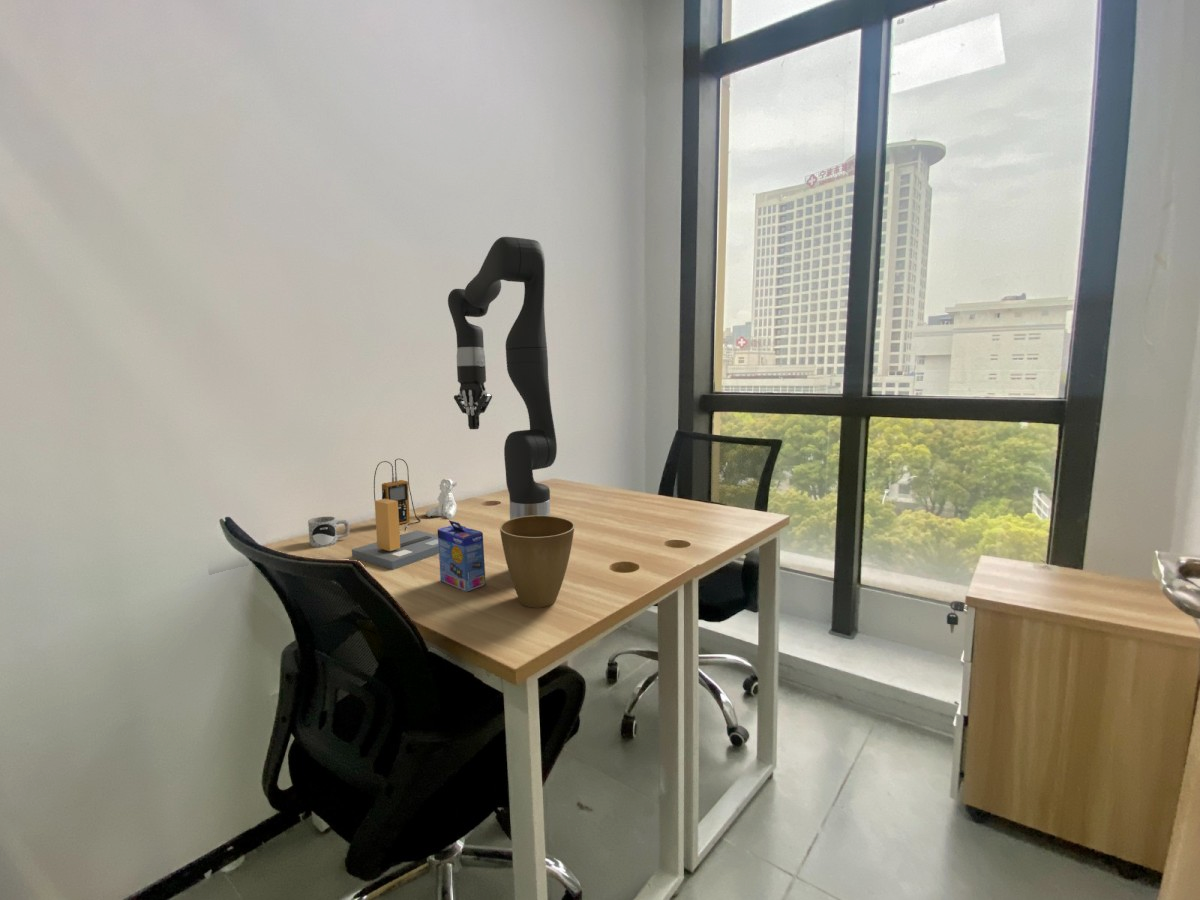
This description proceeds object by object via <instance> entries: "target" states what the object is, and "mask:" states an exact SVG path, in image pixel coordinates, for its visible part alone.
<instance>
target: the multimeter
mask: <svg viewBox="0 0 1200 900" xmlns="http://www.w3.org/2000/svg"><path fill="white" fill-rule="evenodd" d="M397 460H398V458H396V459H395V460H394V466H393V464H392V463H391V462H390V461H387V460H384V461H380V462H379V463H378V464H377V465H376V468H375V471H374V477H373V498H374V499H373V501H376V493H375V492H376V491H375V490H376V489H375V488H376V475H377V474H376V473H377V470H378V468H379V465H380V464H382V463H388V464H390V466H391V472H392V474H391V476H392V477H391V481H390V482H389V481H388V482H383V483H382V484H381V499H390V500H394V501H398V513H399V525H402V524H403V525H404V524H407V525H406V527H405V531H407V530H409V526H410V525H413V524H417V523H418V524H419V523H420V522H421V518H419V517H417V515H416V510H415V507H414V502H413V497H412V496H413V495H412V492H411V488H410V479H409V478H410V477H409V473H407V480H403V479H400V480H399V479H398V475H397V463H396V462H397ZM400 460H401V461H403V462H404V464H405V465H406V469H407V472H409V465H408V464H407V462H406V460H405V459H403V458H399V461H400ZM394 469H395V470H394ZM394 472H395V473H394ZM394 474H395V476H394ZM409 495H410V496H409ZM409 497H410V498H409ZM410 500H411V506H412V508H413V509H412V510H413V513H414V516H415V519H416V520H418V521H416V522H410V521H411V520H410V519H411V517H410ZM399 531H401V528H399Z"/></svg>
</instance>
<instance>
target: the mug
mask: <svg viewBox="0 0 1200 900" xmlns="http://www.w3.org/2000/svg"><path fill="white" fill-rule="evenodd" d="M307 524H308V525H307V526H308V535H309V547H312V548H326V547H330V546H334V545H336V544H337V543H338V540H340V539H343V538H345V537H348V536H349V535H350V524H349V521H348V520H346V519H336V517H335V516H319V517H318V516H317V517H314V518H313V517H312V518H310V519H308V522H307ZM340 524H343V525H344V528H345V531H344V532H343V533H338V532H337V525H340Z"/></svg>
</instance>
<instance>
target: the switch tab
mask: <svg viewBox="0 0 1200 900" xmlns="http://www.w3.org/2000/svg"><path fill="white" fill-rule="evenodd" d="M374 515H375V529H376V542H377V548H380V549H384V550H387V551H392V550H396V549H399V548H400V535H401V534H400V530H399V529H400V524H399V513H398V501H394V500H390V499H382V498H381V499H377V500H374Z"/></svg>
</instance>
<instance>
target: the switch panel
mask: <svg viewBox="0 0 1200 900" xmlns="http://www.w3.org/2000/svg"><path fill="white" fill-rule="evenodd" d="M435 555H439V545H438V534H435V533H430V532H426V531H422V530H418V529H416V530H413V531H409V532H405V533H402V534H400V548H399V549H396V550H392V551H387V550H384V549H380V548H377V541H376V542H372V543H369V544H366V545H363V546H362V545H361V546H360V547H359V546H358V547H356V548H353V549H352V548H351V557H352V558H353V557H356V558H355V559H357V558H359V559H358V560H360V559H362V560H361V561H363V560H364V562H366V561H368V563H370V564H373V565H377V566H380V567H383V568H387V569H390V570H395V569H399V568H401V567H405V566H406V565H407V566H408V565H410V564H413V563H416V562H418V561H421V560H423V559H427V558H430V557H433V556H435Z"/></svg>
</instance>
